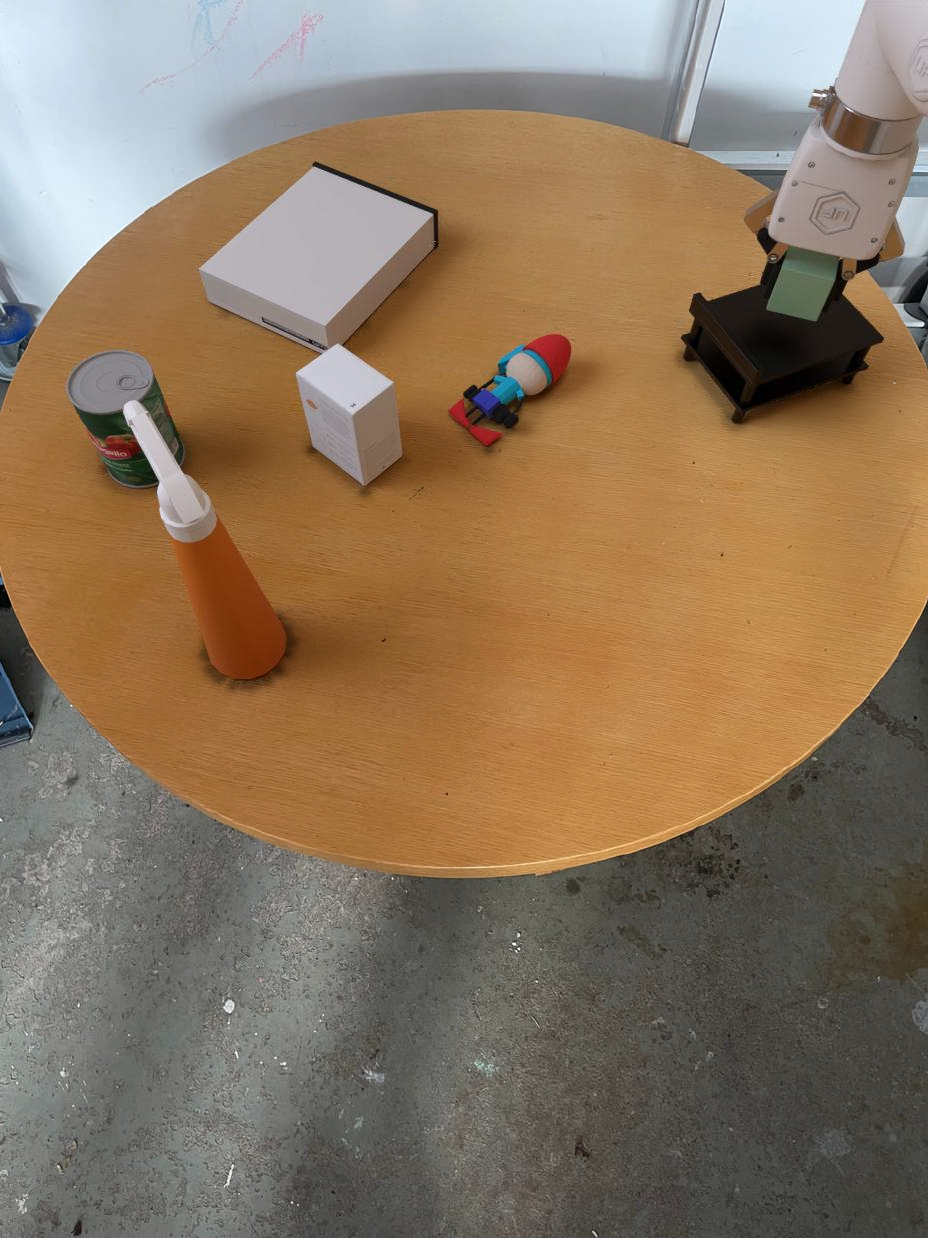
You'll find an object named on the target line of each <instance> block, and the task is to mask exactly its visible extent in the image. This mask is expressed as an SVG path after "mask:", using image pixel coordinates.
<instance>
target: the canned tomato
mask: <svg viewBox="0 0 928 1238" xmlns="http://www.w3.org/2000/svg"><path fill="white" fill-rule="evenodd" d="M65 392H66V395H67V397H68V400H69V401H70V402H71V404H72V406H73V408H74V410H75V412H76V414H77V415H78V418H79V419H80V421H81V423H82V425H83V427H84V428H85V430H86V432H87V434H88V436H89V438H90V440H91V442H92V443H93V445H94V447H95V449H96V451H97V453H98V454H99V456H100V458H101V459H102V463H103V464H104V465H105V467H106V469H107V471H108V474H109V475H110V477H111V478H112V479H113V480H114V481H116V482H117V484H119V485H121V486H123V487H127V488H131V489H149V488H153V487H156V486H159V483H160V481H159V480H158V478H157V476H156V474H155V472H154V470H153V468H152V466H151V465H150V463H149V461H148V459H147V457H146V455H145V454H144V452H143V450H142V448H141V446H140V445H139V443H138V441H137V439H136V437H135V435H134V433H133V431H132V429H131V427H129V426H128V424H127V421H126V419H125V416H124V413H123V409H124V405H125V404H126V403H128V402H129V401H134V400H136V401H138V402H139V403H141V404H142V405H143V406H144V407H145V409H146V410H147V411H148V412H149V414H150V415H151V416H152V417H151V418H152V420H153V422H154V423H155V425H156V427H157V429H158V430H159V432H160V434H161V436H162V437H163V439H164V441H165V443H166V444H167V446H168V448H169V450H170V451H171V453H172V455H173V457H174V458H175V460H176V462H177V464H178V465H179V467H180V469H181V468H182V466H183V464H184V461H185V458H186V450H185V445H184V443H183V441H182V439H181V437H180V434H179V431H178V429H177V426H176V423H175V422H174V419H173V416H172V414H171V412H170V409H169V406H168V404H167V402H166V400H165V397H164V395H163V392H162V389H161V387H160V385H159V382H158V380H157V378H156V375H155V373H154V368H153V366H152V365H151V363H150V361H148V360H147V358H145V357H144V356H143V355H141V354H139V353H137V352H134V351H130V350H126V349H109V350H105V351H101V352H98V353H95V354H92V355H90V356H88V357H86V358H85V359H83V360H82V361H80V362H79V363H78V364H77V365H76V366H75V367H74V368H73V369H72V370H71V372H70V373H69V375H68V377H67V379H66V384H65Z"/></svg>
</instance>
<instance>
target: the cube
mask: <svg viewBox="0 0 928 1238" xmlns="http://www.w3.org/2000/svg"><path fill="white" fill-rule="evenodd" d="M840 259H841V257H838V256H833V255H829V254H824V253H820V252H815V251H811V250H806V249H802V248H798V247H793V246H790V247H789V248H788V250H787V251H786V252H785V256H784V260H783V264H782V268H781V270H780V273H779V276H778V278H777V281H776V283H775V286H774V288H773V291H772V294H771V296H770V298H769V300H768V304H767V308H766V310H769V311H773V312H777V313H782V314H786V315H790V316H794V317H799V318H803V319H807V320H811V321H815V322H816V321H817V319H818V317H819V315H820V312H821V310H822V308H823V306H824V304H825V302H826V299H827V297H828V295H829V293H830V291H831V288H832V286H833V284H834V282H835V279H836V274H837V269H838V264H839V261H840Z"/></svg>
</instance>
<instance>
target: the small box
mask: <svg viewBox="0 0 928 1238" xmlns="http://www.w3.org/2000/svg"><path fill="white" fill-rule="evenodd" d="M295 378H296V382H297V387H298V391H299V395H300V399H301V404H302V407H303V412H304V416H305V420H306V424H307V428H308V432H309V438H310V441H311V445H312V447H313V448H314V449H315V450H317V451H318V452H320V453H321V454H322V455H323V456H325V457H326V458H327V459H328V460H330V461H331V462H332V463H334V464H335V465H336V466H337V467H339V468H340V469H341V470H343V471H344V472H345V473H347V474H348V475H349V476H350V477H352V478H353V479H355V481H357V482H358V483H359V484H361V485H362V486H363V487H366V486H367V485H369V484H370V483H371V482H372V481H374V480H375V479H376V478H377V477H378V476H380V475H381V474H382V473H383V472H384V471H386V470H387V469H388V468H389V467H391V466H392V465H393V464H394V463H396V462H397V461H398V460H399V459H400V458H402V457H403V448H402V447H403V446H402V439H401V429H400V428H401V427H400V420H399V410H398V402H397V401H398V400H397V393H396V392H397V391H396V383H395V382H394V380H391V379H390V378H389V377H387V376H386V375H384V374H383V373H382V372H380V371H378V370H377V369H375V368H374V367H373V366H372V365H370V364H368V363H367V361H364V360H363V359H362V358H360V357H358V355H355V354H354V353H353V352H351V351H350V350H348V349H347V348H346V347H345V346H343V345H342V346H341V345H340V344H336V345H335V346H333V347H332V348H330V349H329V350H327V351H326V352H325V353H323V354H320V355H319V356H318V357H316V358H315V359H313V360H312V361H310V362H308V363H307V364H306V365H304V366H303V367H302V368H300V369H299V370H297V371H296V372H295Z"/></svg>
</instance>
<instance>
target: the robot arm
mask: <svg viewBox="0 0 928 1238" xmlns="http://www.w3.org/2000/svg"><path fill="white" fill-rule="evenodd" d="M807 108H810V109H814V110H815V111H816V112H819V113H818V114H817V115H815V117H814V118H813V119H812V122H811V123H810V124H809V126H808V128H807V129H806V131H805V133H804V134H803V136H802V139H801V141H800V143H799V145H798V147H797V148H796V151H795V152H794V155H793V156H792V159H791V161H790V163H789V165H788V169H787V171H786V173H785V175H784V178H783V179H782V182H781V185H780V186H779V187H778V188H776V189H775V190H773V191H772V192H771V193H769V194H767V195H766V196H764V197H763V198H761V199H760V200H758V201H756V202H755V203H754V204H752V205H751V206H749V207H748V208H746V211H745V213H744V217H743V222H744V223H745V225H746V227H748V229H749V230H750V231H751V232H752V234H755V236H756V240H757V242H758V243H759V245H760V247H761V248H762V250H763V252H764V253H765V254H766V263H765V266H764V267H763V268H764V269H763V271H762V274H761V277H760V281H759V285H760V284H763V285H766V286H765V290H764V294H763V298H765V299H768V298H770V296H771V294H772V291H773V288H774V286H775V283H776V281H777V278H778V276H779V273H780V270H781V268H782V264H783V260H784V256H785V252H786V251H787V250H788V248H789V247H790V246H793V247H798V248H802V249H806V250H811V251H815V252H820V253H824V254H829V255H833V256H838V257H840V259H839V264H838V269H837V274H836V279H835V282H834V284H833V286H832V288H831V291H830V293H829V295H828V297H827V299H826V302H825V304H824V306H823V308H822V310H821V312H825V313H827V311H828V308H829V306H830V304H831V302H832V301H836V302H838V301H839V299H840V297H841V295H842V294H843V293H844V290H845V288H846V286H847V284H848V282H849V281H852V280H853V279H855V277H856V275H859V274H861V273H862V272H865V271H868V270H870V269H872V268H875V267H876V266H877V265H878V264H879V263H886V262H888V261H891V260H894V259H897V258H900V257H902V256H903V255H904V254H905V248H906V247H905V246H906V241H905V239H904V236H903V233H902V231H901V228H900V227H901V226H900V225H899V222H898V219H897V216H896V215H897V214H898V212H899V208H900V207H901V204H902V202H903V199H904V196H905V194H906V191H907V188H908V186H909V184H910V181H911V178H912V175H913V172H914V169H915V165H916V163H917V158H918V154H919V149H920V147H919V137H918V134H917V131H918V129H919V128H920V126H921V123H922V121H923V119H924V117H925V118H927V119H928V0H865V2H864V5H863V7H862V9H861V12H860V15H859V17H858V20H857V22H856V26H855V29H854V31H853V34H852V37H851V39H850V42H849V44H848V47H847V50H846V53H845V55H844V58H843V61H842V63H841V66H840V69H839V71H838V75H837V77H835V81H834V82H833V85H829V87H828V89H826V88H823V89H822V90H821V89H817V88H814V89H813V91H812V93H811V96H810V99H809V101H808V105H807ZM768 216H770V218H769V221H768V219H767V217H768Z"/></svg>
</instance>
